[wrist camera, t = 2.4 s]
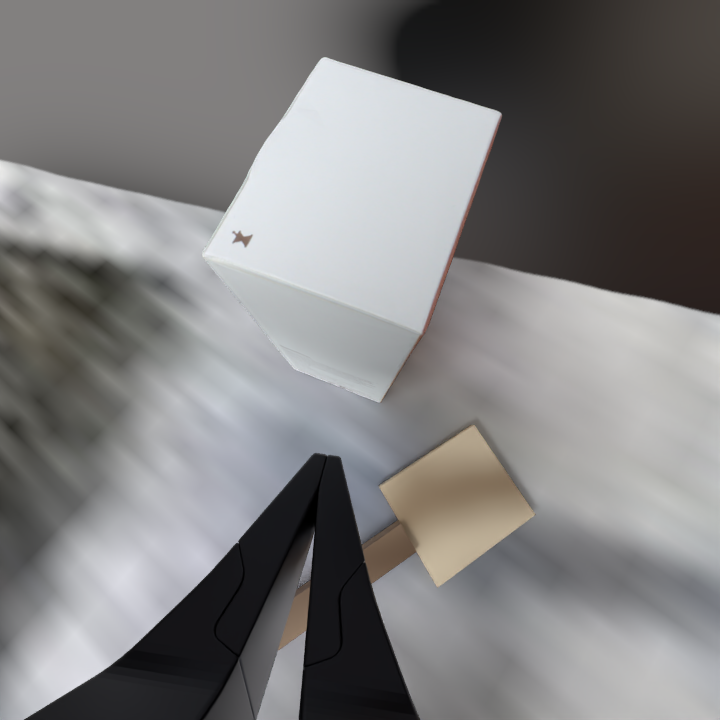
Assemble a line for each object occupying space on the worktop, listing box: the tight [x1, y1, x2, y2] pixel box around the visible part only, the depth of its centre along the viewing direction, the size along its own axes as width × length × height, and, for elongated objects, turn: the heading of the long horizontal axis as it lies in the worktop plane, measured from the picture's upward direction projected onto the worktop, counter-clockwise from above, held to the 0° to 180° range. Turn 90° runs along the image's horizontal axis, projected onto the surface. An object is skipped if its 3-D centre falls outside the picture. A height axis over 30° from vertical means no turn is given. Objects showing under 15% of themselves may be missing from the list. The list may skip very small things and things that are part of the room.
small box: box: [202, 57, 502, 403], centre depth 15 cm, size 8×6×13 cm
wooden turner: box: [278, 425, 535, 650], centre depth 17 cm, size 6×16×1 cm, turn 121°
